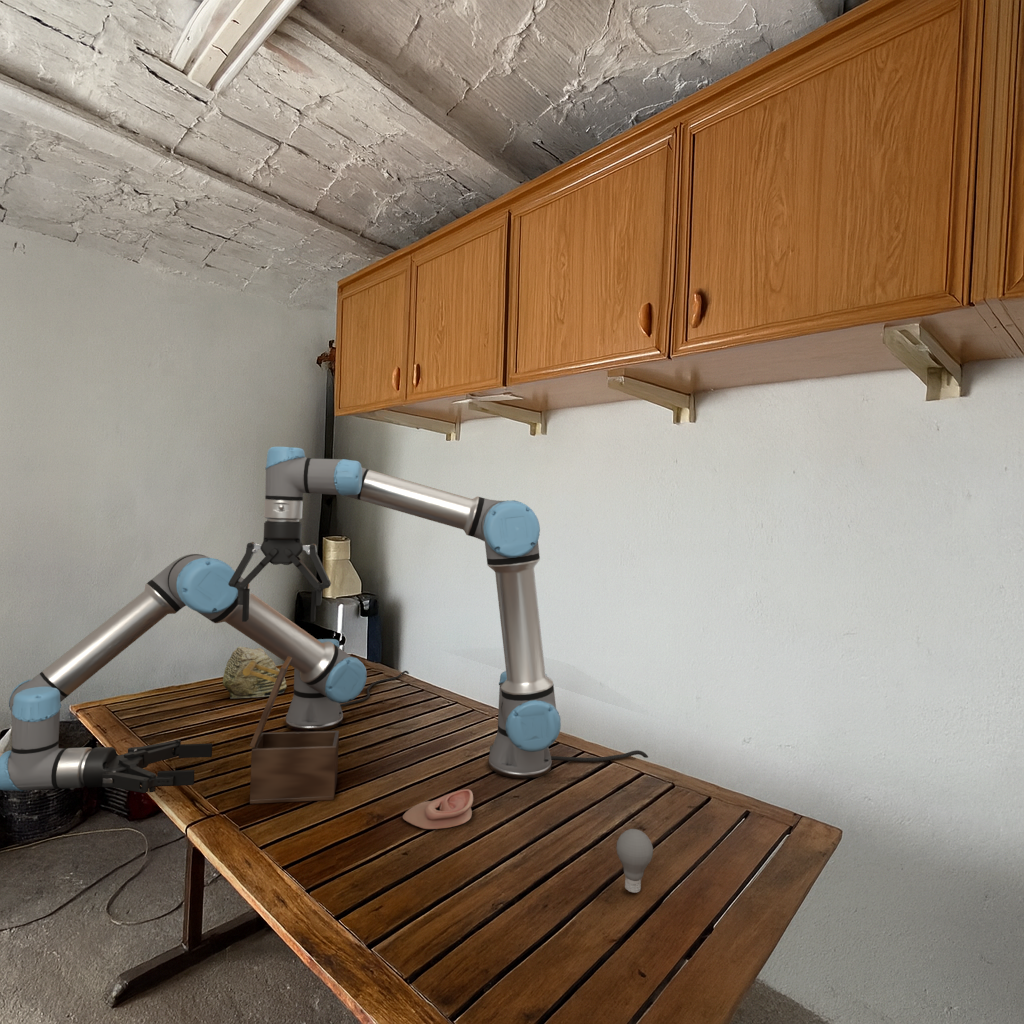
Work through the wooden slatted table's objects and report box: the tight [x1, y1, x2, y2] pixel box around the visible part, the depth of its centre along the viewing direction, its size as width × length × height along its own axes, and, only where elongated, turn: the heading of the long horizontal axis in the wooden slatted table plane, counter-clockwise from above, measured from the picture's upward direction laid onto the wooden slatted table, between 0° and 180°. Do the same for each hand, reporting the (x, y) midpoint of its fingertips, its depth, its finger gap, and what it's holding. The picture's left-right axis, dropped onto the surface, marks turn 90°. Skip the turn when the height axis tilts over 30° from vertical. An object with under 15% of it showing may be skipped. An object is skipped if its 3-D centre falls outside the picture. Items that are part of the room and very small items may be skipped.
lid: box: [243, 656, 292, 748], centre depth 134 cm, size 17×9×8 cm
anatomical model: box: [402, 788, 474, 830], centre depth 128 cm, size 13×4×12 cm
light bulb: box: [615, 828, 654, 894], centre depth 106 cm, size 6×6×10 cm
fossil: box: [222, 646, 288, 699], centre depth 198 cm, size 9×18×15 cm, turn 132°
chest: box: [249, 730, 340, 805], centre depth 136 cm, size 17×9×11 cm, turn 101°
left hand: (203, 763), depth 132 cm, fingers open, 13 cm apart
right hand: (279, 620), depth 134 cm, fingers open, 13 cm apart
